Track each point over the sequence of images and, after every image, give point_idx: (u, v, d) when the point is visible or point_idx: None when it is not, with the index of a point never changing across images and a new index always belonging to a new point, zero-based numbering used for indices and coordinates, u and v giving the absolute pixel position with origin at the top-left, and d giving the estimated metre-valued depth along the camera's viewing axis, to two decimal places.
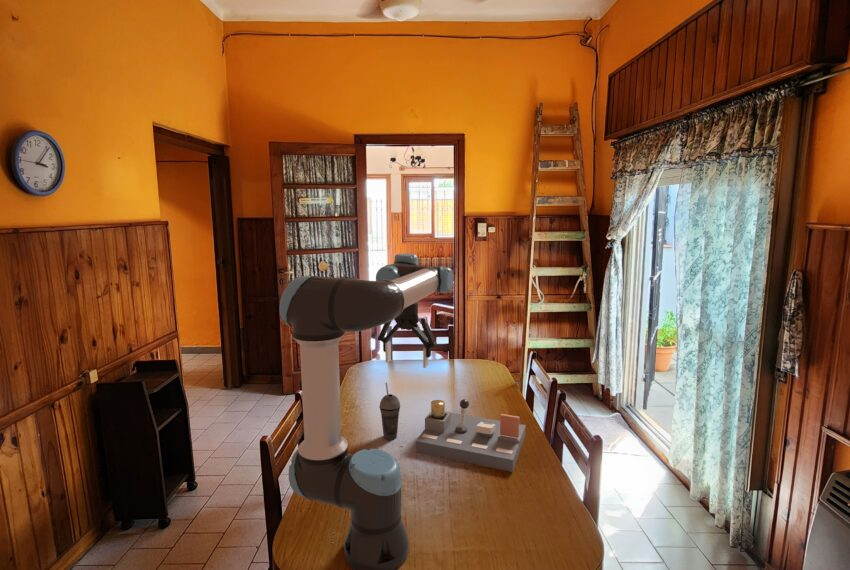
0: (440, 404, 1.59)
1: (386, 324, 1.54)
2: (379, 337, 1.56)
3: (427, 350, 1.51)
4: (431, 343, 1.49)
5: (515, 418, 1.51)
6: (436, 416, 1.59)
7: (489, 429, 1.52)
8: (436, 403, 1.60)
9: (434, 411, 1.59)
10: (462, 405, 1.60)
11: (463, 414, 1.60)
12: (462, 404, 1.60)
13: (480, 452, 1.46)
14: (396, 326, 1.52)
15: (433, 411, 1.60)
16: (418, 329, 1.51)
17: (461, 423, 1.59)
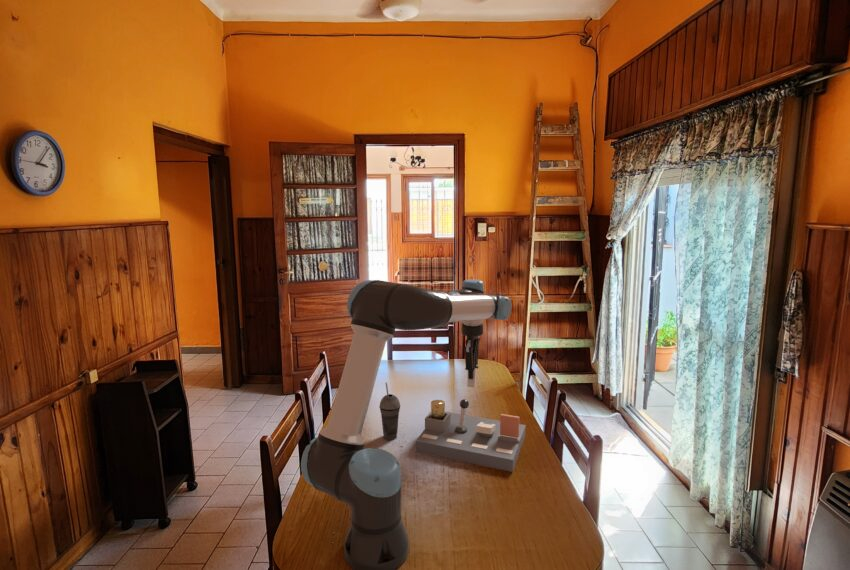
0: (440, 404, 1.59)
1: None
2: None
3: None
4: None
5: (515, 418, 1.51)
6: (436, 416, 1.59)
7: (489, 429, 1.52)
8: (436, 403, 1.60)
9: (434, 411, 1.59)
10: (462, 405, 1.60)
11: (463, 414, 1.60)
12: (462, 404, 1.60)
13: (480, 452, 1.46)
14: None
15: (433, 411, 1.60)
16: None
17: (461, 423, 1.59)
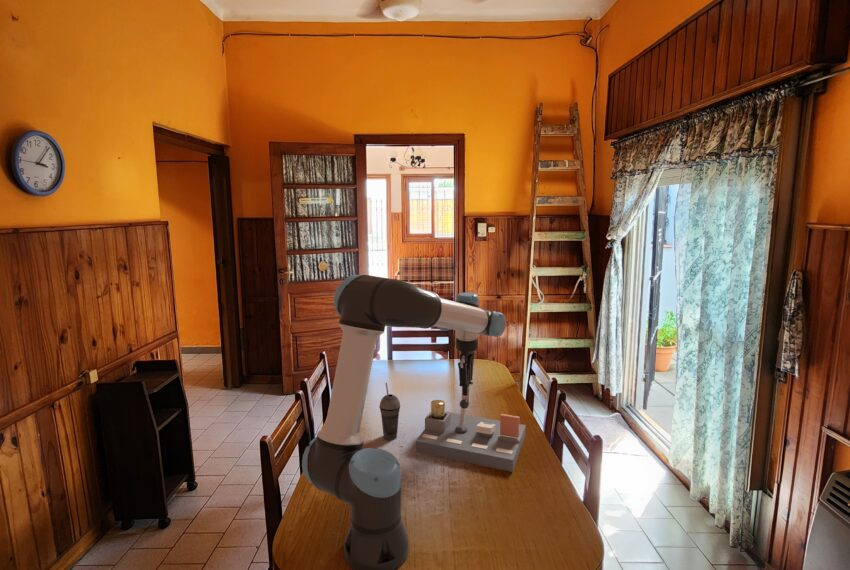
0: (440, 404, 1.59)
1: None
2: None
3: None
4: None
5: (515, 418, 1.51)
6: (436, 416, 1.59)
7: (489, 429, 1.52)
8: (436, 403, 1.60)
9: (434, 411, 1.59)
10: (462, 405, 1.60)
11: (463, 414, 1.59)
12: (462, 404, 1.60)
13: (480, 452, 1.46)
14: None
15: (433, 411, 1.60)
16: None
17: (461, 423, 1.59)
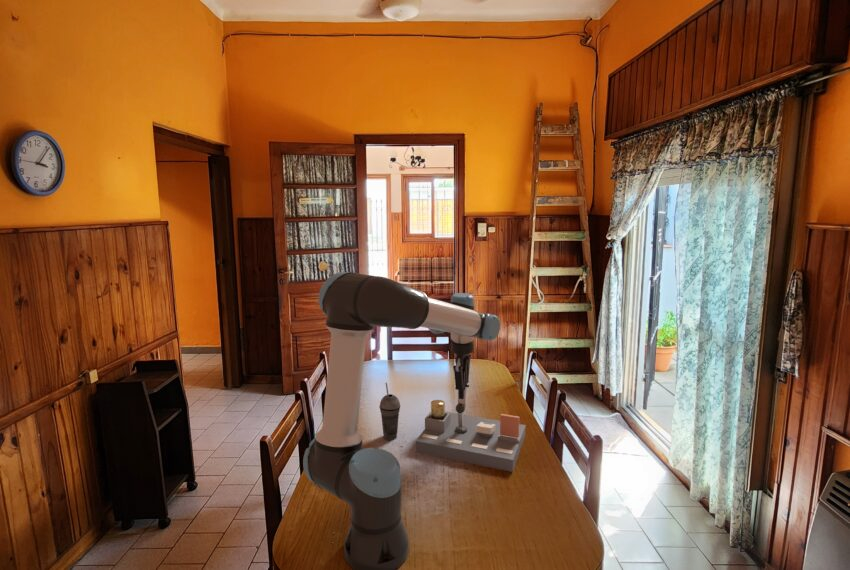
0: (440, 404, 1.59)
1: None
2: None
3: None
4: None
5: (515, 418, 1.51)
6: (436, 416, 1.59)
7: (489, 429, 1.52)
8: (436, 403, 1.60)
9: (434, 411, 1.59)
10: (458, 412, 1.55)
11: (461, 418, 1.57)
12: (458, 411, 1.55)
13: (480, 452, 1.46)
14: None
15: (433, 411, 1.60)
16: None
17: (460, 425, 1.58)
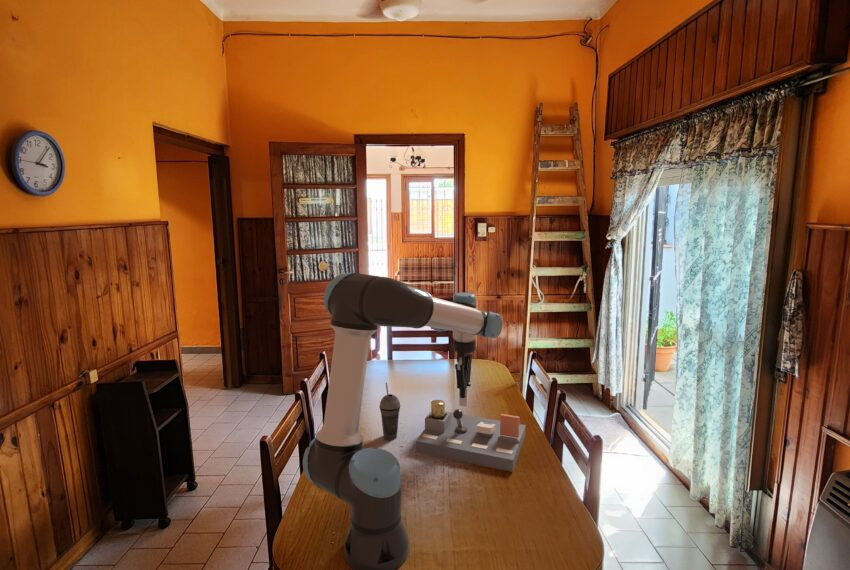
0: (440, 404, 1.59)
1: None
2: None
3: None
4: None
5: (515, 418, 1.51)
6: (436, 416, 1.59)
7: (489, 429, 1.52)
8: (436, 403, 1.60)
9: (434, 411, 1.59)
10: (456, 418, 1.54)
11: (459, 422, 1.56)
12: (456, 418, 1.53)
13: (480, 452, 1.46)
14: None
15: (433, 411, 1.60)
16: None
17: (460, 427, 1.58)
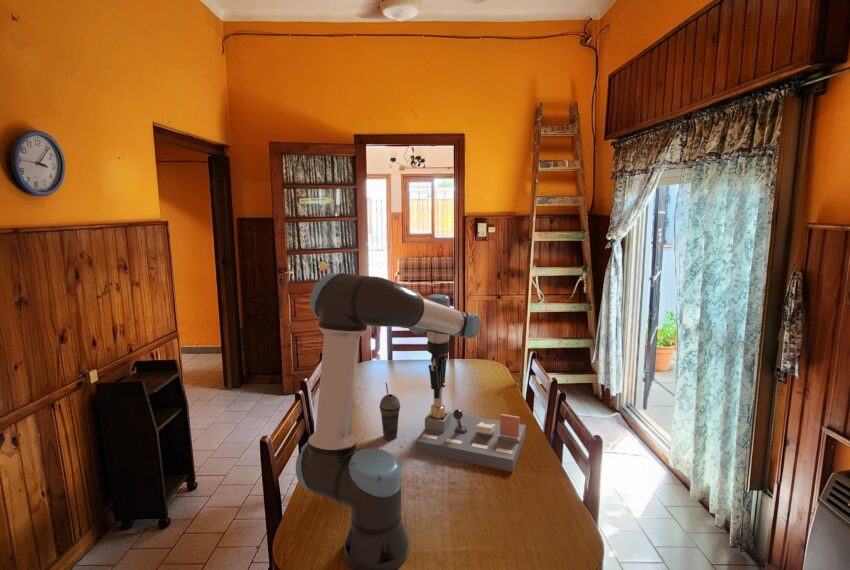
0: (440, 408, 1.60)
1: None
2: None
3: None
4: None
5: (515, 418, 1.51)
6: None
7: (489, 429, 1.52)
8: (436, 407, 1.61)
9: (434, 415, 1.60)
10: (456, 418, 1.54)
11: (459, 422, 1.56)
12: (456, 418, 1.53)
13: (480, 452, 1.46)
14: None
15: (433, 415, 1.60)
16: None
17: (460, 427, 1.58)
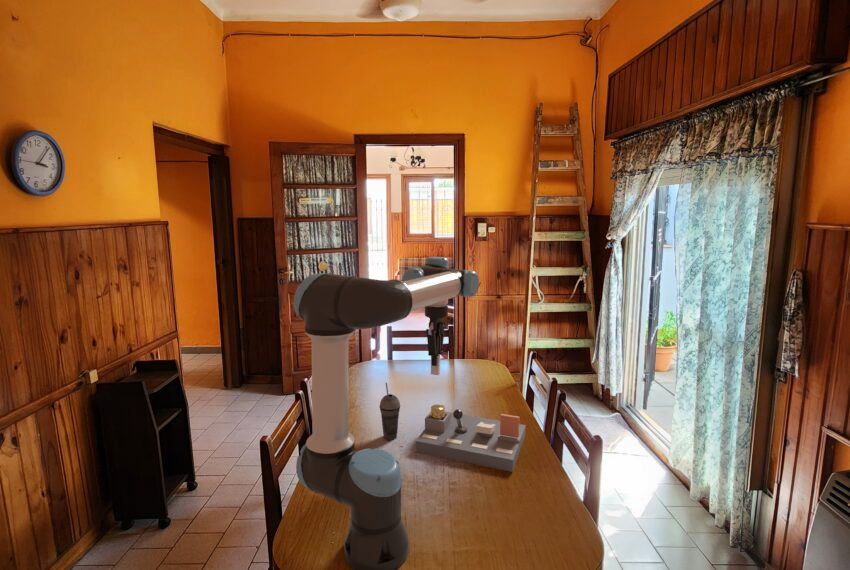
0: (440, 409, 1.60)
1: None
2: None
3: None
4: None
5: (515, 418, 1.51)
6: None
7: (489, 429, 1.52)
8: (436, 408, 1.61)
9: (434, 416, 1.60)
10: (456, 418, 1.54)
11: (459, 422, 1.56)
12: (456, 418, 1.53)
13: (480, 452, 1.46)
14: None
15: (433, 416, 1.60)
16: None
17: (460, 427, 1.58)
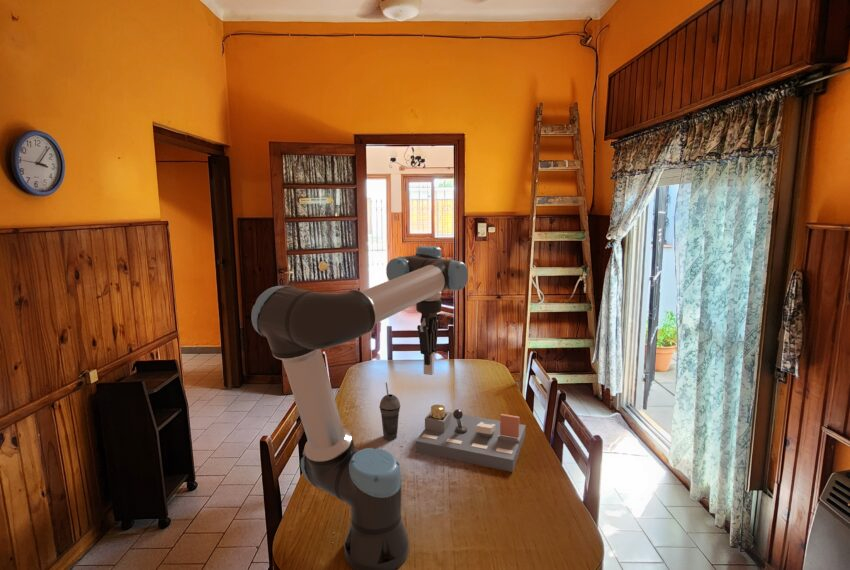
0: (440, 409, 1.60)
1: None
2: None
3: None
4: None
5: (515, 418, 1.51)
6: None
7: (489, 429, 1.52)
8: (436, 408, 1.61)
9: (434, 416, 1.60)
10: (456, 418, 1.54)
11: (459, 422, 1.56)
12: (456, 418, 1.53)
13: (480, 452, 1.46)
14: None
15: (433, 416, 1.60)
16: None
17: (460, 427, 1.58)
